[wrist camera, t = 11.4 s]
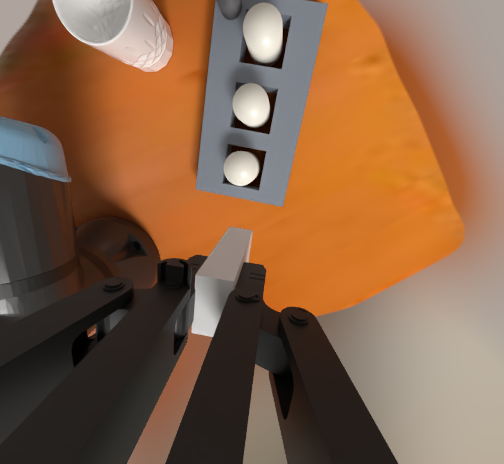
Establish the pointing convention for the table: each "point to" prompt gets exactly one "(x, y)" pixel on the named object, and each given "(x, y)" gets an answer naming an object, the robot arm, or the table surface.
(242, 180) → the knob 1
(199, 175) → the grey egg holder
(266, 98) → the white oval solid
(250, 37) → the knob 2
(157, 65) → the white cup
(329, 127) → the table surface
